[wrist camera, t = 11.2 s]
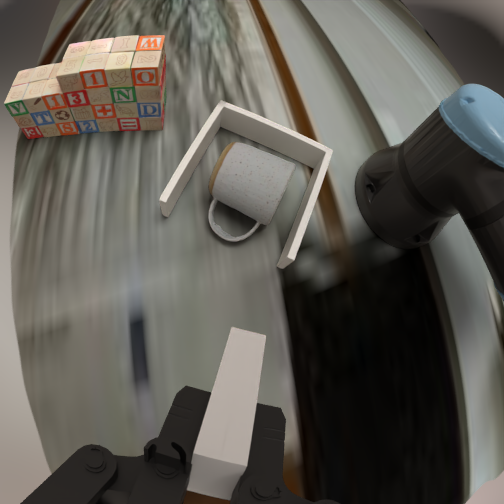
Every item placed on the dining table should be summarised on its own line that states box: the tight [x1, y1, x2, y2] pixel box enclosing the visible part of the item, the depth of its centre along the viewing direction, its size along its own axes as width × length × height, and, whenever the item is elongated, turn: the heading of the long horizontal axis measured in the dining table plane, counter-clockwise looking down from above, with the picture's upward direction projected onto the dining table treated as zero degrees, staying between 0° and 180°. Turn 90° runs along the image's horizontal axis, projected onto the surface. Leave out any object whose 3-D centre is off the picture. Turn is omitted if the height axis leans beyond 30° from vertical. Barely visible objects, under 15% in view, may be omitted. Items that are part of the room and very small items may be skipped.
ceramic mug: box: [208, 142, 296, 242], centre depth 36 cm, size 11×8×8 cm
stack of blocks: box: [4, 35, 166, 139], centre depth 33 cm, size 21×6×12 cm, turn 93°
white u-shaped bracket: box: [159, 101, 333, 269], centre depth 38 cm, size 16×16×4 cm
